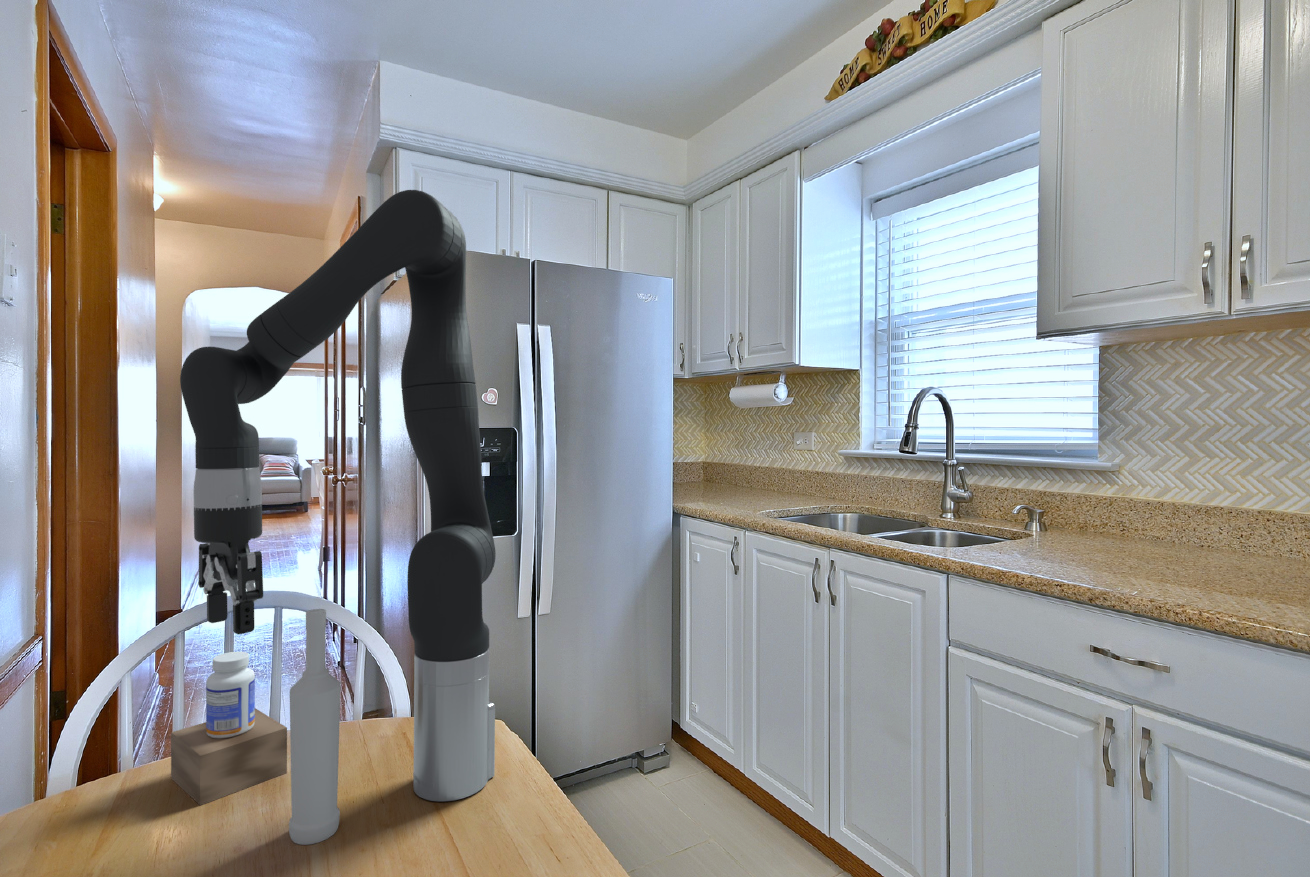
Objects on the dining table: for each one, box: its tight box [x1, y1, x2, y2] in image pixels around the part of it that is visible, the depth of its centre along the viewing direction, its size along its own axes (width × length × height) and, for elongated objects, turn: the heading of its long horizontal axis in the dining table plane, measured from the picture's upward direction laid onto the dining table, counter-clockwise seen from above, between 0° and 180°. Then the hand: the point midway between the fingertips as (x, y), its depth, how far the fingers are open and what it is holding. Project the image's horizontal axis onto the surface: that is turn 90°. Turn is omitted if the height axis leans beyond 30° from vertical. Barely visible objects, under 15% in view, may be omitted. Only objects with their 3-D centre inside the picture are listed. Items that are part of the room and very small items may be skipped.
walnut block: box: [170, 707, 288, 806], centre depth 89 cm, size 10×10×6 cm
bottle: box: [288, 608, 341, 846], centre depth 76 cm, size 5×5×25 cm
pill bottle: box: [205, 651, 256, 738], centre depth 88 cm, size 5×5×10 cm
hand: (230, 626), depth 88 cm, fingers open, 8 cm apart
